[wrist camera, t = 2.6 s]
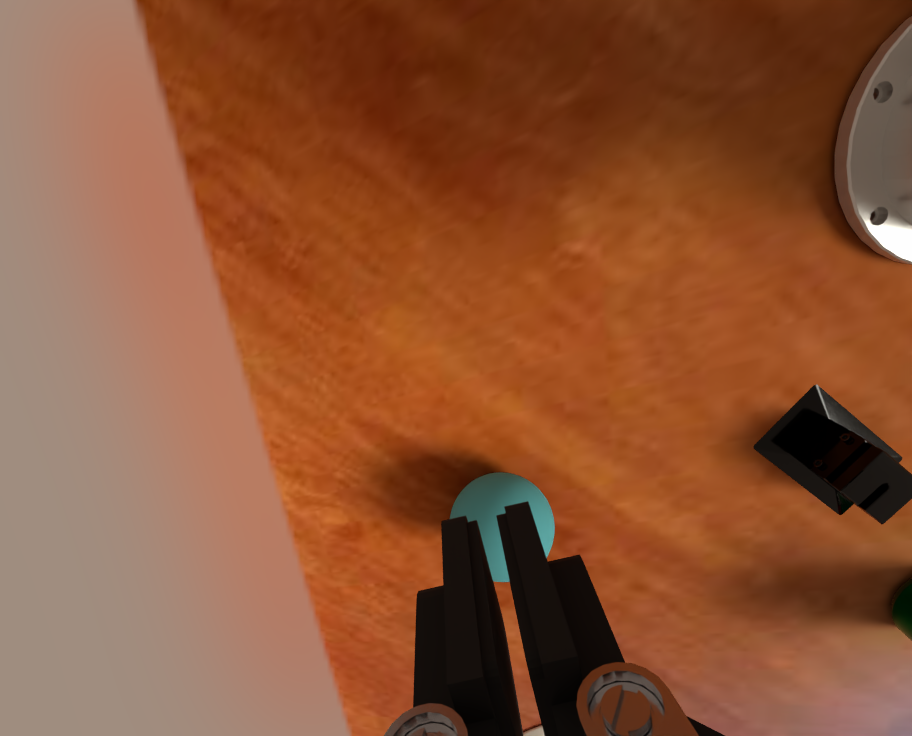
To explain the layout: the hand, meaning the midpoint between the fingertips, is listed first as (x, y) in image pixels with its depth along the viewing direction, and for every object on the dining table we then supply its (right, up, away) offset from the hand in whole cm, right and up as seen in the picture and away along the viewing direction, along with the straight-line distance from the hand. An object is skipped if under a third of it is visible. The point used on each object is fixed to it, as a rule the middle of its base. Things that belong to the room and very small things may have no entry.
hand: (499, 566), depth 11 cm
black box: (+21, 0, +20) cm, 29 cm away
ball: (+2, -4, +17) cm, 17 cm away
